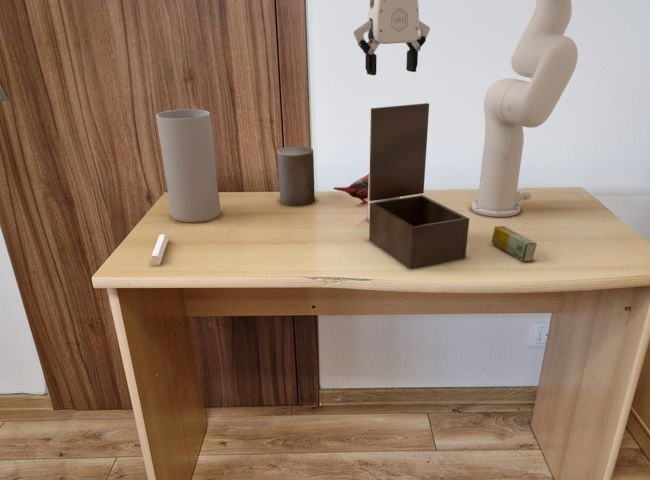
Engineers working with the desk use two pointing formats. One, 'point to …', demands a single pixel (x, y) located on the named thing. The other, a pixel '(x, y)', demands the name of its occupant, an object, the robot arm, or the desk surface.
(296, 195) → the pillar candle
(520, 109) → the robot arm
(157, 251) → the white rectangular bar
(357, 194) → the decorative bird figurine
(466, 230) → the chest
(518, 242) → the medication box
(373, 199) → the lid
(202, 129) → the cylinder vase
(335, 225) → the desk surface
